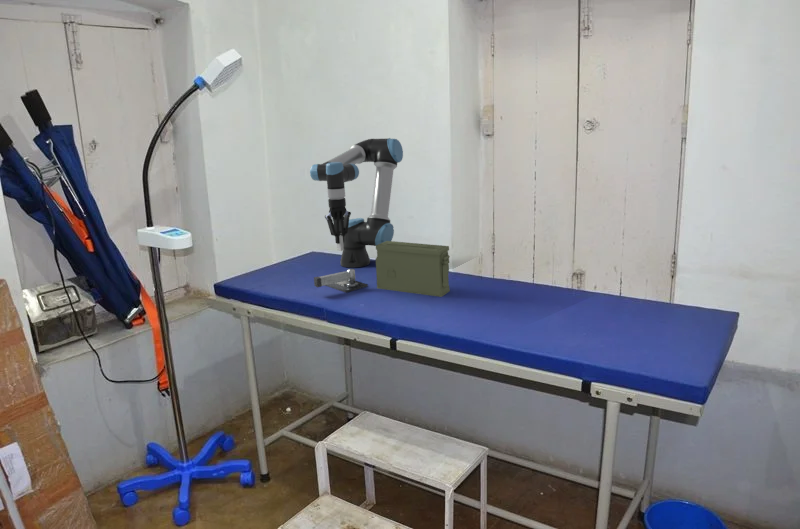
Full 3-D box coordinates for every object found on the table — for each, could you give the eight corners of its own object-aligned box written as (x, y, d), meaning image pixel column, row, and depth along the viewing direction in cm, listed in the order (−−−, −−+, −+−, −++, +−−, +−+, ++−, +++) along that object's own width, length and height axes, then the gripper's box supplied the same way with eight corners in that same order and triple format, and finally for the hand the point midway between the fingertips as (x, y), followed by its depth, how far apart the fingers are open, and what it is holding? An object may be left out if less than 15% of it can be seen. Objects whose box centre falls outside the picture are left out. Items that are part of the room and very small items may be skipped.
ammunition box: (443, 297, 250) (442, 251, 245) (376, 288, 266) (373, 244, 261) (453, 290, 258) (452, 245, 253) (387, 282, 274) (384, 240, 269)
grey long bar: (353, 280, 270) (352, 268, 269) (356, 282, 268) (356, 269, 266) (314, 289, 260) (313, 276, 259) (317, 291, 258) (316, 277, 256)
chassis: (339, 277, 286) (338, 272, 285) (367, 286, 270) (367, 281, 269) (318, 283, 278) (317, 278, 278) (346, 292, 262) (345, 287, 262)
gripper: (343, 195, 270) (347, 246, 276) (319, 199, 262) (323, 251, 268) (353, 196, 265) (357, 248, 271) (329, 200, 256) (333, 254, 263)
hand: (340, 250), depth 269 cm, fingers closed
